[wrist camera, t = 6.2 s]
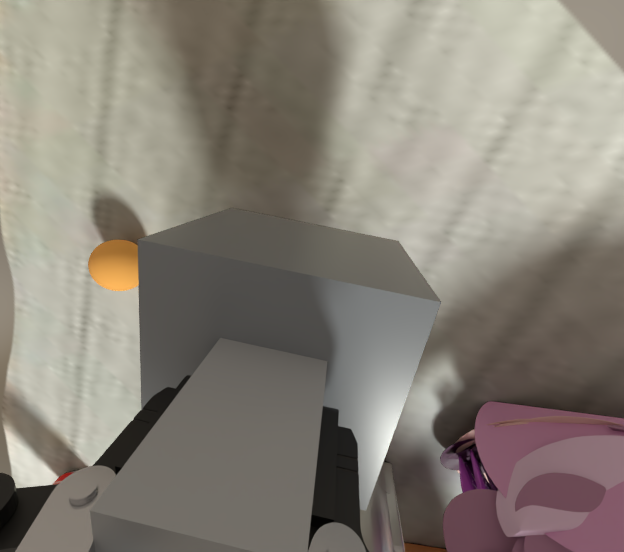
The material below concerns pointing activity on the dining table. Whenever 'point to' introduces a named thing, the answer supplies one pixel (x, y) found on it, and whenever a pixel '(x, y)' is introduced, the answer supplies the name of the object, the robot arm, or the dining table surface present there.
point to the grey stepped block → (260, 378)
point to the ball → (115, 265)
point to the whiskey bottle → (421, 548)
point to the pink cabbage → (537, 482)
